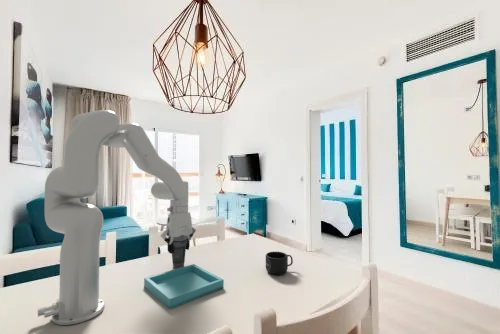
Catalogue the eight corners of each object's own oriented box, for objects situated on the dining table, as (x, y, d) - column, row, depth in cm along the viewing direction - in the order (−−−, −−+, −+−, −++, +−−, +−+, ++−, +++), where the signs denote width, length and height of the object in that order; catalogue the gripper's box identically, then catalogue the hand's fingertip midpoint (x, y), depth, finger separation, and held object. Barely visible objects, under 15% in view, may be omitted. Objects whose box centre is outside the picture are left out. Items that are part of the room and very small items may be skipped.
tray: (169, 309, 75) (170, 299, 75) (144, 286, 90) (144, 278, 90) (223, 288, 89) (223, 279, 89) (193, 271, 104) (193, 263, 104)
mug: (271, 278, 98) (271, 259, 98) (262, 269, 106) (262, 252, 106) (298, 274, 102) (298, 256, 102) (287, 266, 110) (287, 249, 111)
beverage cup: (176, 271, 104) (177, 222, 104) (166, 266, 108) (166, 220, 108) (190, 265, 110) (191, 219, 110) (180, 262, 114) (180, 217, 114)
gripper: (163, 212, 100) (163, 257, 100) (201, 208, 112) (200, 248, 112) (155, 210, 106) (155, 253, 106) (192, 206, 118) (192, 245, 118)
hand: (178, 250), depth 109 cm, fingers closed on beverage cup, 6 cm apart
